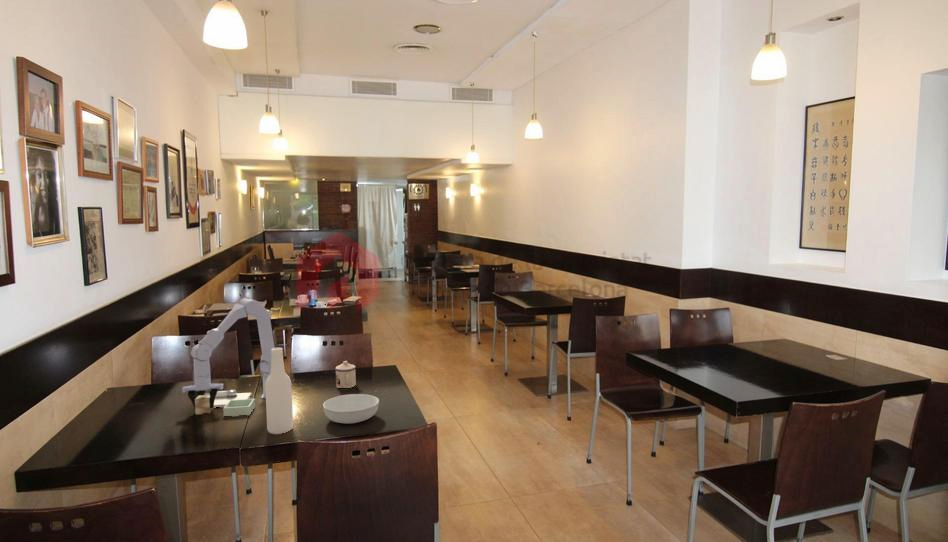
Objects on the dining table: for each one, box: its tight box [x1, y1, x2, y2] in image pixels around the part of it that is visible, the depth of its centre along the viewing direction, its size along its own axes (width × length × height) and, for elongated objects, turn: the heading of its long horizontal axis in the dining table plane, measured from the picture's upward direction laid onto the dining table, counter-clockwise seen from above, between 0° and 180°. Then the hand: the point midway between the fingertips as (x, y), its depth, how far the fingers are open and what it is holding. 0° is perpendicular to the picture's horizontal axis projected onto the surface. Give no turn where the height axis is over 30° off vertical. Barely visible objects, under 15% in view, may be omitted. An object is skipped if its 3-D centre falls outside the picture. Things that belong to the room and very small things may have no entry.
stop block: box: [194, 394, 214, 415], centre depth 219 cm, size 5×5×6 cm
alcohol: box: [265, 347, 294, 435], centre depth 198 cm, size 9×9×30 cm
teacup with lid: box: [334, 360, 357, 389], centre depth 249 cm, size 12×9×12 cm
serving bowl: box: [322, 393, 380, 425], centre depth 210 cm, size 21×21×7 cm
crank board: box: [213, 392, 252, 409], centre depth 231 cm, size 16×14×2 cm
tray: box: [222, 398, 256, 417], centre depth 219 cm, size 10×10×4 cm
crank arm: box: [204, 389, 237, 397], centre depth 233 cm, size 12×4×3 cm, turn 100°
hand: (204, 408), depth 219 cm, fingers closed on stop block, 5 cm apart
